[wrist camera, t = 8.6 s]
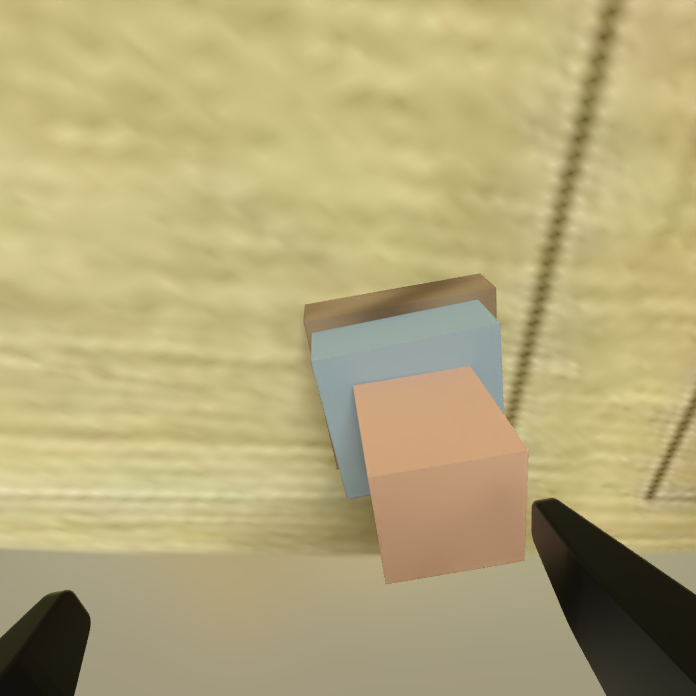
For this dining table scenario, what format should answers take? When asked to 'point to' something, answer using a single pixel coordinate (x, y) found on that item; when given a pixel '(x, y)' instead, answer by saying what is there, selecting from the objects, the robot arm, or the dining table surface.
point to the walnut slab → (397, 304)
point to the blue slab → (398, 367)
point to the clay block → (442, 474)
